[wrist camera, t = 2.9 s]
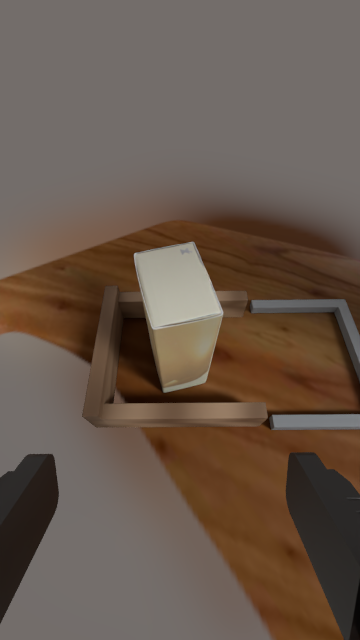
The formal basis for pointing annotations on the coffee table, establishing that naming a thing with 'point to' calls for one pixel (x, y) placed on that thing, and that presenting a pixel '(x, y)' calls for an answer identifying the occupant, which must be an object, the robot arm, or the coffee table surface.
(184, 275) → the skincare box
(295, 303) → the bracket
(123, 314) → the frame
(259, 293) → the coffee table surface
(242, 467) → the coffee table surface
